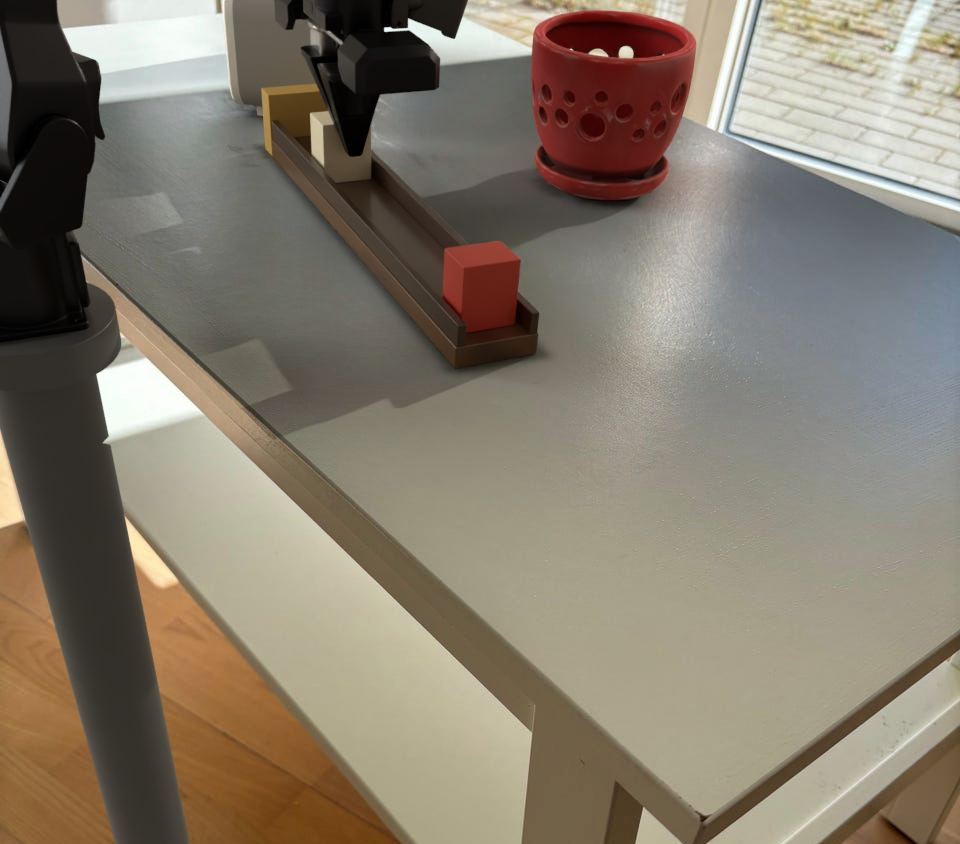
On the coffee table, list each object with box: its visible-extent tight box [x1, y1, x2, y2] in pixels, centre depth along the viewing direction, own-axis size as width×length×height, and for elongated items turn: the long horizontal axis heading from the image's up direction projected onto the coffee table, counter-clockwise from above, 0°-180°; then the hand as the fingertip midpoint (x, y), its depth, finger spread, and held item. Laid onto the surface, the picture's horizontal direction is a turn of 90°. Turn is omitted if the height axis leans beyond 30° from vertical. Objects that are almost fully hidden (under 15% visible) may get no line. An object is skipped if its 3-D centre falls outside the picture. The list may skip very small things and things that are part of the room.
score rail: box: [271, 120, 540, 369], centre depth 82 cm, size 6×38×3 cm, turn 26°
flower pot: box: [530, 9, 697, 201], centre depth 91 cm, size 13×13×12 cm
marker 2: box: [442, 240, 522, 333], centre depth 70 cm, size 4×3×4 cm
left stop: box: [261, 84, 328, 158], centre depth 94 cm, size 6×2×5 cm, turn 116°
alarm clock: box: [222, 0, 316, 117], centre depth 105 cm, size 27×9×12 cm, turn 174°
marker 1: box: [310, 111, 372, 183], centre depth 87 cm, size 4×3×4 cm
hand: (354, 155), depth 85 cm, fingers closed
